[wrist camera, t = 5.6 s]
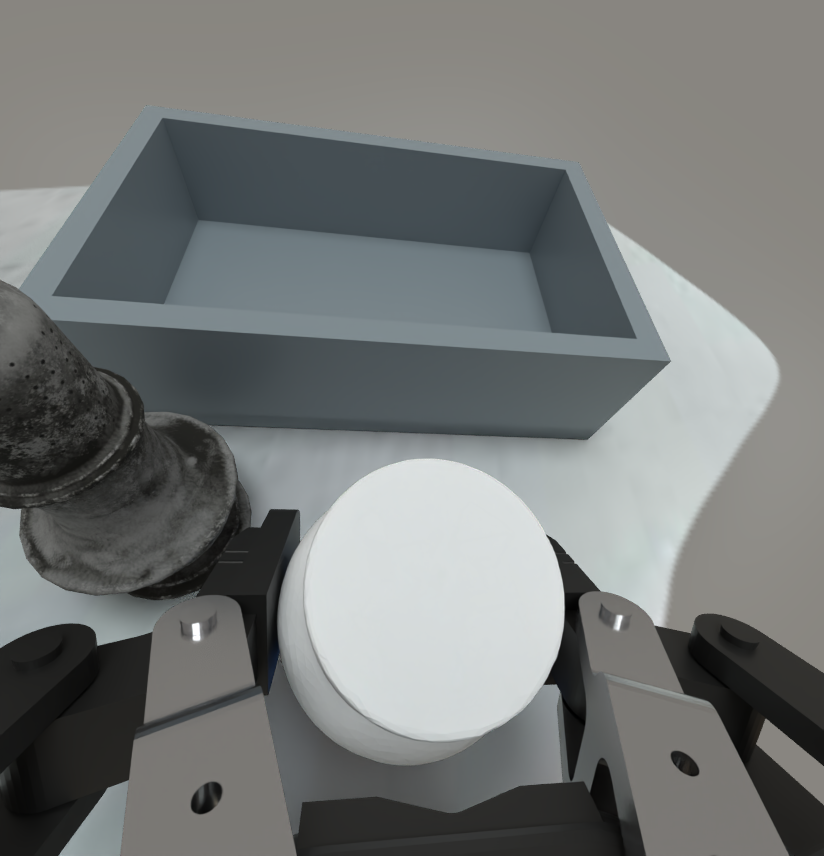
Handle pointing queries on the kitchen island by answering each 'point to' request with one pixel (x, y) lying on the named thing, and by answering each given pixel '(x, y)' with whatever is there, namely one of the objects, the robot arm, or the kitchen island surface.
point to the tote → (348, 282)
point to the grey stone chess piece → (106, 470)
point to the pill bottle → (420, 612)
